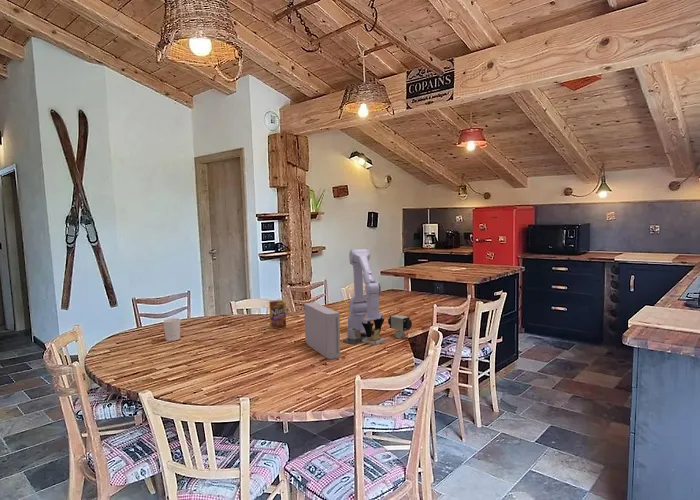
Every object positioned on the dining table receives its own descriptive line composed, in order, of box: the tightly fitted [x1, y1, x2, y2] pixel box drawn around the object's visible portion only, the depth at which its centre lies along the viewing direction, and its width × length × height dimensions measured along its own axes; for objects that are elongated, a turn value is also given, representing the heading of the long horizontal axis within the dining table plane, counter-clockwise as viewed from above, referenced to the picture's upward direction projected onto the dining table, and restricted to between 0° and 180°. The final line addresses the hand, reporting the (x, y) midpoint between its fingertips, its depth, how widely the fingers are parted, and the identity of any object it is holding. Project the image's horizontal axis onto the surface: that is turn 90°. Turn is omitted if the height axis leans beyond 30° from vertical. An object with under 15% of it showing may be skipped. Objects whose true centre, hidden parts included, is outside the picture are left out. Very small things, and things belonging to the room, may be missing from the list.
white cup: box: [163, 317, 181, 342], centre depth 233 cm, size 8×8×10 cm
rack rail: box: [342, 331, 367, 346], centre depth 225 cm, size 7×17×2 cm, turn 143°
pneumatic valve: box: [387, 313, 413, 339], centre depth 228 cm, size 6×12×12 cm, turn 46°
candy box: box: [269, 299, 287, 330], centre depth 251 cm, size 9×4×15 cm, turn 98°
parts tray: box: [361, 337, 386, 346], centre depth 221 cm, size 8×8×2 cm
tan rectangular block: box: [367, 327, 381, 342], centre depth 221 cm, size 4×4×6 cm
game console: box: [303, 301, 341, 360], centre depth 209 cm, size 6×27×20 cm, turn 28°
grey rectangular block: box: [346, 328, 361, 341], centre depth 222 cm, size 4×4×6 cm
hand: (373, 335), depth 221 cm, fingers open, 7 cm apart
